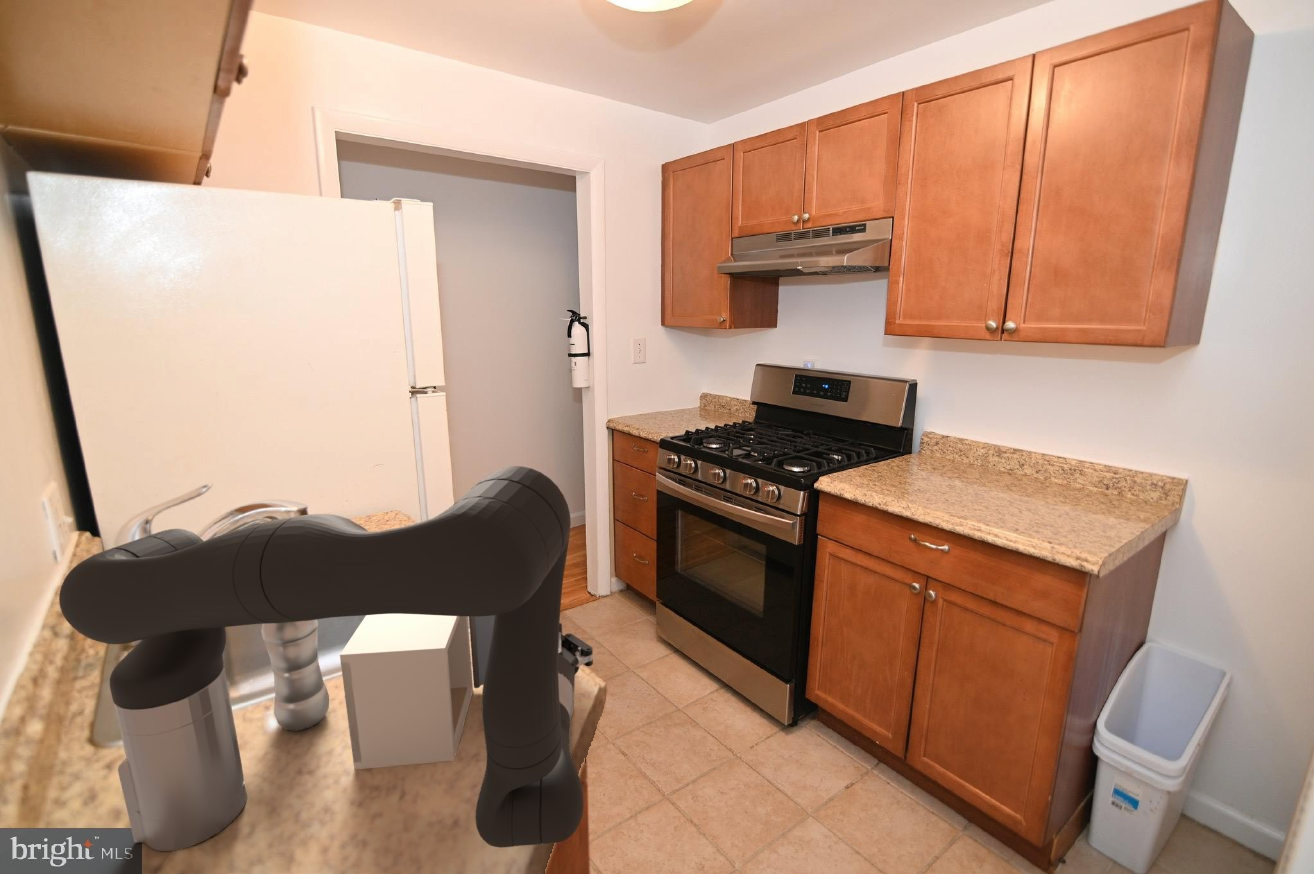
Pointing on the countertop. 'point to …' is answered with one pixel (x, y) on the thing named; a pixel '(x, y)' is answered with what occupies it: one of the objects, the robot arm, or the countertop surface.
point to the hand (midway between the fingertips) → (553, 625)
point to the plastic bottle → (296, 673)
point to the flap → (480, 645)
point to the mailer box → (407, 688)
